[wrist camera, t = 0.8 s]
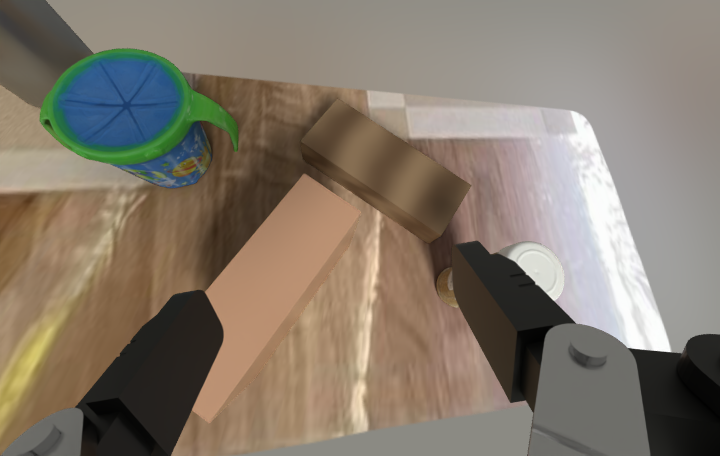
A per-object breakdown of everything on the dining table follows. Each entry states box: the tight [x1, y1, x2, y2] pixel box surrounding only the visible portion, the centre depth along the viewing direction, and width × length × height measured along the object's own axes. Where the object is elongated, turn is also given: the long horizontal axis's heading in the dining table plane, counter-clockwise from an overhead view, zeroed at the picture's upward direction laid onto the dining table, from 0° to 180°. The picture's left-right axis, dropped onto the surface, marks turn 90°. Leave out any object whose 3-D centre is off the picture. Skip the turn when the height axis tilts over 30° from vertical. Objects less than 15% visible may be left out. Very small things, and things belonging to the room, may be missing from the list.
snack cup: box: [40, 49, 238, 188], centre depth 28 cm, size 16×10×10 cm
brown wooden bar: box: [300, 98, 472, 244], centre depth 33 cm, size 18×7×4 cm, turn 56°
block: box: [192, 173, 362, 423], centre depth 25 cm, size 5×16×12 cm, turn 146°
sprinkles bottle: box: [436, 241, 565, 307], centre depth 26 cm, size 5×5×14 cm
